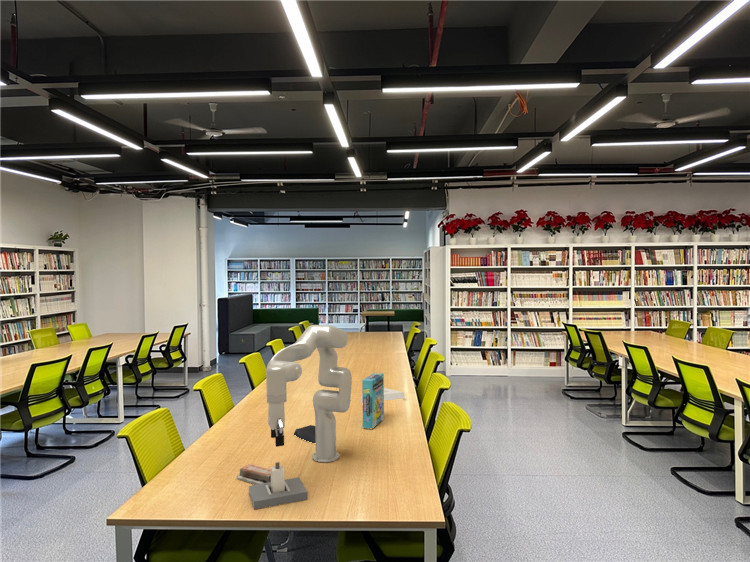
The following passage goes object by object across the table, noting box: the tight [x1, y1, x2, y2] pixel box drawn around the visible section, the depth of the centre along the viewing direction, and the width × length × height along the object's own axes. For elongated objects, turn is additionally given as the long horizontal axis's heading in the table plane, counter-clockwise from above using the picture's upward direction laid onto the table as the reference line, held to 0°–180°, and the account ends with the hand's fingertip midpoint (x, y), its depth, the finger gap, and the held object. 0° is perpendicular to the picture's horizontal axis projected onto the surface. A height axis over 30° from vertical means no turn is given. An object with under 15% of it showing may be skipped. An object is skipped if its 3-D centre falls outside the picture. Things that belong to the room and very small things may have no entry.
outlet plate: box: [248, 476, 309, 511], centre depth 185 cm, size 14×20×3 cm
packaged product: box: [236, 463, 271, 485], centre depth 200 cm, size 18×5×10 cm
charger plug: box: [270, 461, 286, 493], centre depth 185 cm, size 4×4×13 cm
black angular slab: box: [293, 424, 316, 444], centre depth 251 cm, size 13×19×4 cm
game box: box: [361, 372, 385, 429], centre depth 272 cm, size 20×6×27 cm, turn 161°
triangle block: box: [360, 387, 405, 404], centre depth 321 cm, size 30×26×6 cm
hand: (277, 441), depth 185 cm, fingers open, 9 cm apart
